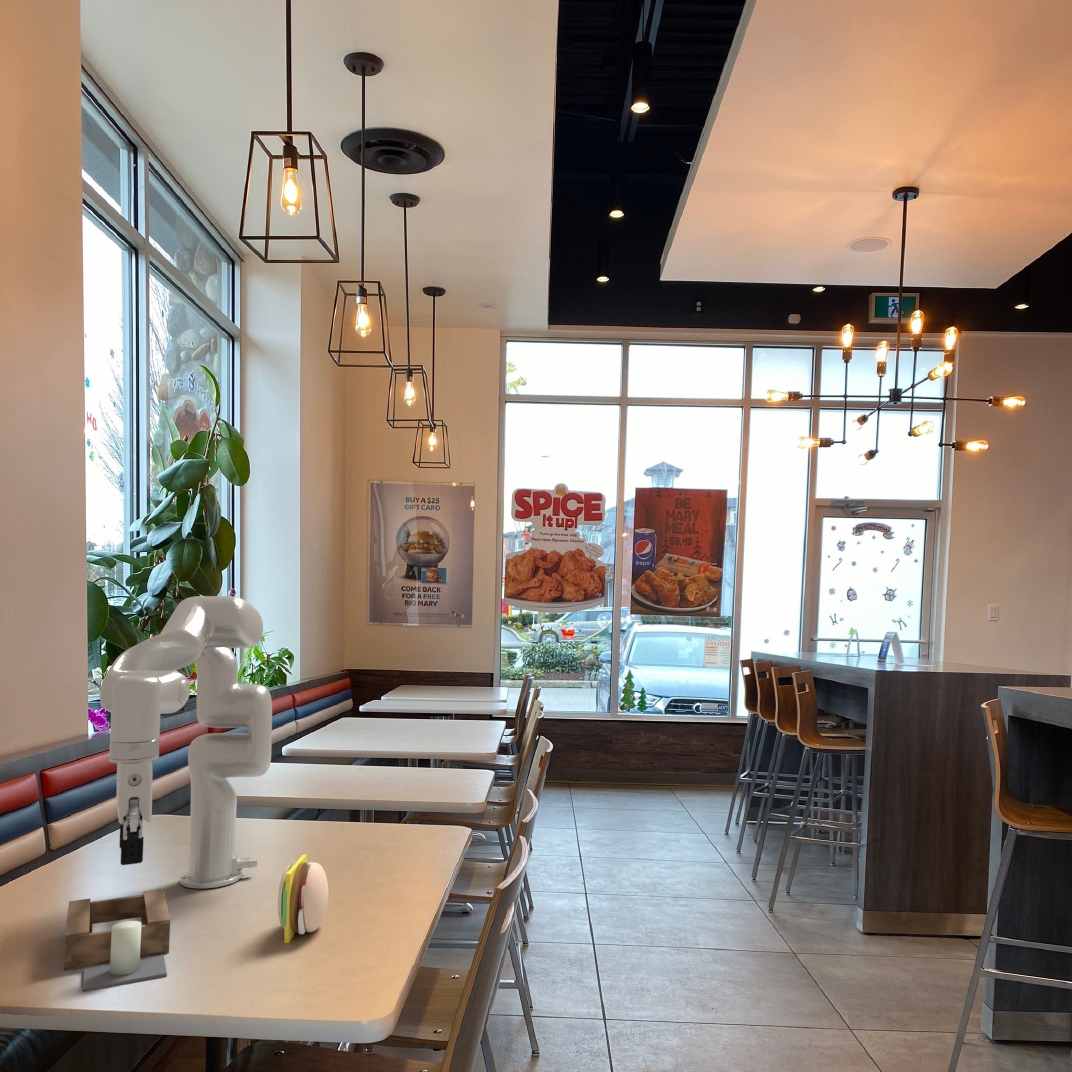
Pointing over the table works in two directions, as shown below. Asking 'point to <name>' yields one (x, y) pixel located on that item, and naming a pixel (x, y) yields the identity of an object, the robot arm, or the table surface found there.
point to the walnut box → (96, 919)
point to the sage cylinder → (125, 948)
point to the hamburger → (302, 898)
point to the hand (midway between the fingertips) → (130, 855)
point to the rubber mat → (103, 978)
